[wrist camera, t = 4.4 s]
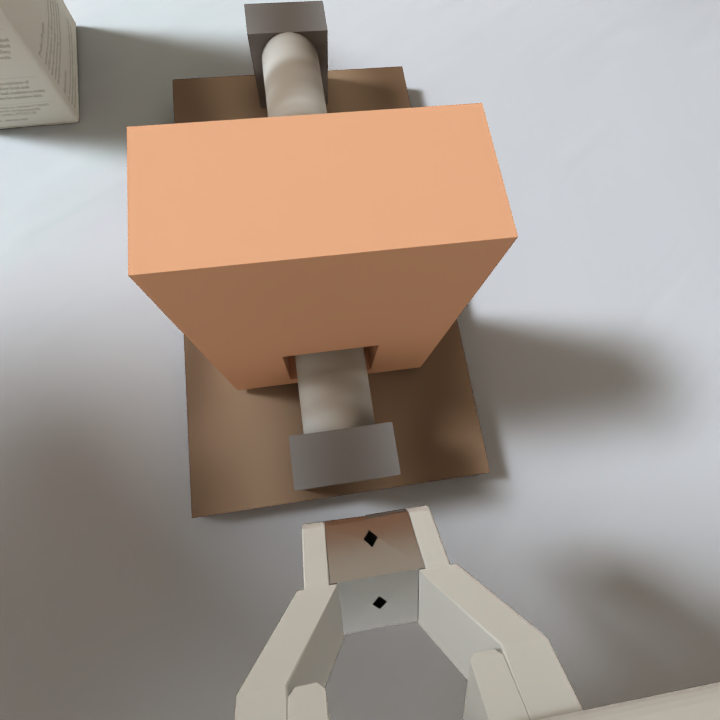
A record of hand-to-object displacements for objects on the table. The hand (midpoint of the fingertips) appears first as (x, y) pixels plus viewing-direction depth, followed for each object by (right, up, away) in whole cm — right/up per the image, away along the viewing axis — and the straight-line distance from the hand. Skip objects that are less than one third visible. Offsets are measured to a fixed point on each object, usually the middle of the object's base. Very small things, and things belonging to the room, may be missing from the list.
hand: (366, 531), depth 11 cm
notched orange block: (-2, +5, +12) cm, 13 cm away
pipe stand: (-3, +9, +15) cm, 18 cm away
